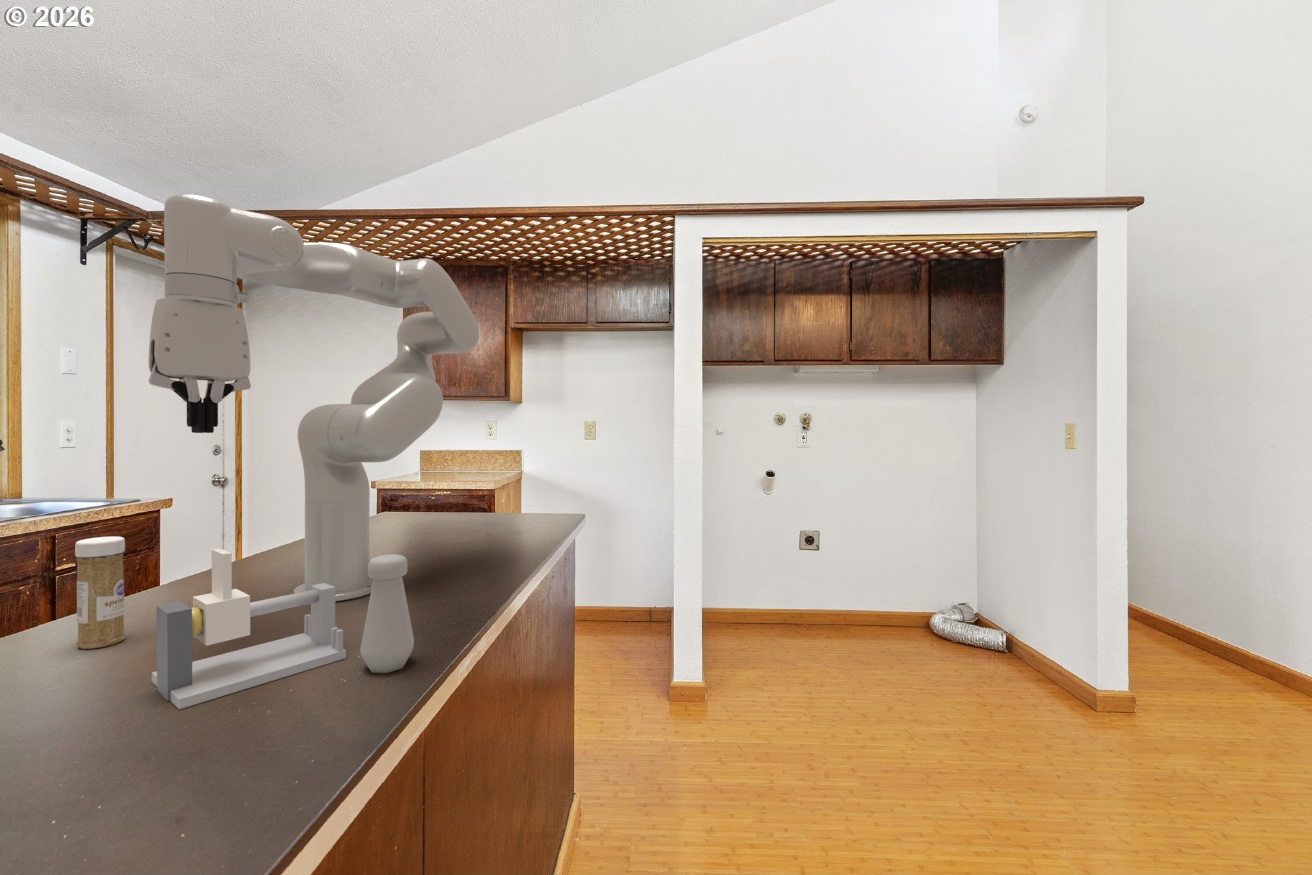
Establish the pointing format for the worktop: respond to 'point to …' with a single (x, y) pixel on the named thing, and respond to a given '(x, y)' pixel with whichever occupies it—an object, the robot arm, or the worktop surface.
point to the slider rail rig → (247, 665)
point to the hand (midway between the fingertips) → (202, 432)
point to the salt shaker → (387, 616)
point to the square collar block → (223, 604)
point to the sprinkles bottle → (100, 591)
